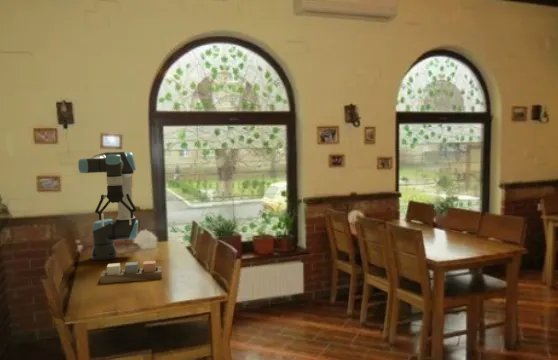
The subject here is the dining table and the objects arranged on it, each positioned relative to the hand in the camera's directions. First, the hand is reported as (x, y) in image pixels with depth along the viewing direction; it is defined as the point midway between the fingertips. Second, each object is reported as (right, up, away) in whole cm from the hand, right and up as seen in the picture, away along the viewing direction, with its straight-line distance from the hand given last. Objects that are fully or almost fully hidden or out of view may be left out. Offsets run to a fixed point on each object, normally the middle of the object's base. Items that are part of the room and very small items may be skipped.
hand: (116, 225), depth 250 cm
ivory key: (-1, -25, 0) cm, 25 cm away
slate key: (+7, -25, +2) cm, 26 cm away
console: (+7, -28, +2) cm, 29 cm away
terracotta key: (+16, -24, +4) cm, 29 cm away
